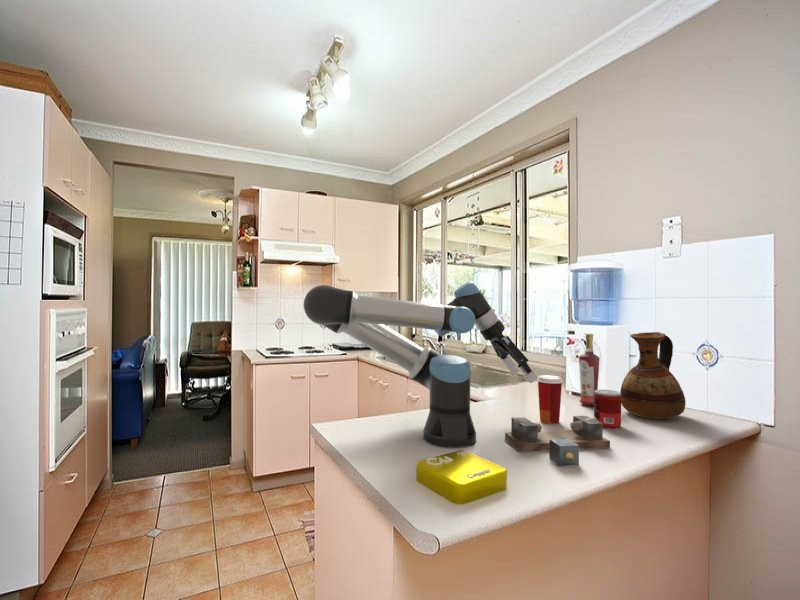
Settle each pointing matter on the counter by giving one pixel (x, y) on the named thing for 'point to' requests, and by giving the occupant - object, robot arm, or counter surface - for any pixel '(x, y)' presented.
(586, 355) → the liquor
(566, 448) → the coupler
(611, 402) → the canned food
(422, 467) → the element tile
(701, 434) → the counter surface
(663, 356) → the ceramic pitcher
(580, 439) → the shaft stand
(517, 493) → the counter surface
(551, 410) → the coffee cup
